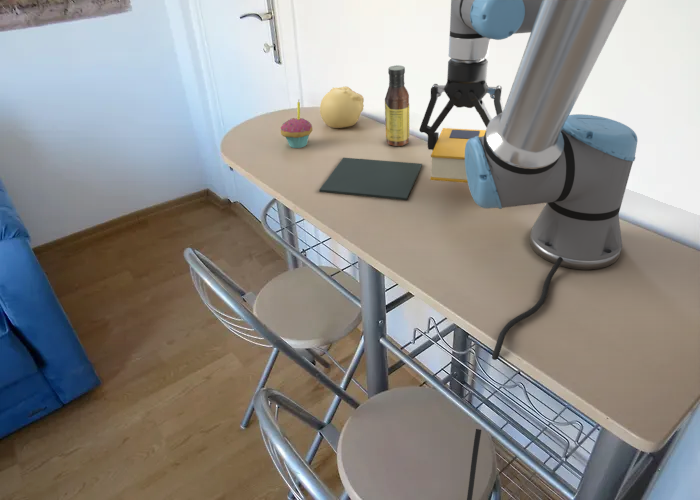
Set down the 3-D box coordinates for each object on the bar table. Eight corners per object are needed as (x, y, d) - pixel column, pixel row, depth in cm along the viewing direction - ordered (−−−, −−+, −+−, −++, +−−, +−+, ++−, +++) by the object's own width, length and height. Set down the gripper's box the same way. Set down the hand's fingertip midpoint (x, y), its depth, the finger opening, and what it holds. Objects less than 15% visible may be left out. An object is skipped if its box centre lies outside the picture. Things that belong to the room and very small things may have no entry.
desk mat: (406, 200, 112) (406, 197, 112) (319, 191, 118) (319, 189, 117) (421, 165, 126) (422, 163, 126) (343, 159, 132) (343, 157, 131)
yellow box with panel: (482, 184, 105) (484, 158, 102) (430, 180, 107) (430, 154, 104) (488, 153, 117) (490, 129, 114) (441, 150, 120) (442, 127, 117)
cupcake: (296, 137, 146) (292, 94, 140) (320, 142, 142) (316, 98, 135) (276, 147, 141) (270, 103, 134) (300, 153, 136) (295, 108, 130)
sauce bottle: (393, 137, 143) (393, 62, 132) (413, 141, 140) (415, 64, 129) (380, 145, 138) (379, 68, 128) (401, 149, 135) (401, 71, 124)
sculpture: (370, 123, 153) (369, 86, 147) (339, 135, 146) (337, 96, 140) (343, 115, 160) (341, 79, 154) (313, 125, 153) (310, 88, 147)
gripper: (531, 54, 100) (517, 162, 112) (412, 53, 107) (411, 154, 118) (530, 64, 94) (515, 176, 106) (405, 62, 101) (404, 168, 112)
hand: (460, 165), depth 112 cm, fingers closed on yellow box with panel, 10 cm apart
